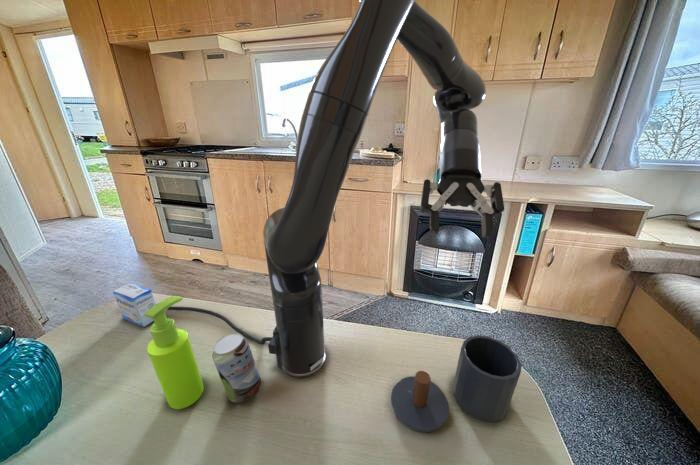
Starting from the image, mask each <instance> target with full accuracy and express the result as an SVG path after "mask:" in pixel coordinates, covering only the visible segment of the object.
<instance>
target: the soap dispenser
mask: <svg viewBox="0 0 700 465" xmlns="http://www.w3.org/2000/svg"><path fill="white" fill-rule="evenodd" d="M182 300H183V297H182V296H178V295H172V296H169V297H167V298H165V299H163V300H161V301H159V302H158V303H156V305H155V306H154V307H152V308H151V309H150V310H148V311H147V312H146V313H144V314H145V316H146V317H149V318H152V319H153V320H154V321H153V324H152V325H151V326H150V327H149V328H150V330H149V331H150V333H151V336H152V339H151V340H150V341H149V343H148V345H147V346H146V351H147V354H148V356H149V359H150V361H151V363H152V366H153V369H154V371H155V373H156V376H157V379H158V381H159V384H160V386H161V389H162V392H163V394H164V396H165V398H166V401H167V404H168V406H169V407H170V408H171V409H174V410H182V409H185V408H188V407H190V406H192V405H193V404H194V403H196V402H197V401H198V400H199V399H200V397H201V396H202V394H203V392H204V389H205V388H204V387H205V386H204V383H203V380H202V377H201V373H200V370H199V367H198V363H197V360H196V357H195V353H194V350H193V347H192V344H191V341H190V338H189V334H188V332H187V330H185V329H182V328H177V325H176V322H175V320H174V319H173V318H169V317H168V318H167V315H166V311H167V309H168V308H169V307H173V306H174V305H176V304H178V303H179V302H182Z"/></svg>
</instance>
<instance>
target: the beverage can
mask: <svg viewBox="0 0 700 465" xmlns="http://www.w3.org/2000/svg"><path fill="white" fill-rule="evenodd" d="M212 350H213V351H212V353H211V354H212V356H211V357H212V361H213V363H214V366H215V368H216V371H217V373H218V376H219V378H220V381H221V383H222V385H223V388H224V391H225V392H226V393H225V394H226V395H227V397H228V399H229V401H231V402H232V403H236V404H237V403H239V404H240V403H243V402H247V401H248V400H250V399H251V398H253V397H254V396H255V395H256V394H257V393H258V391H259V390H260V388H261V387H262V386H261V385H262V379H261V375H260V373H259V370H258V367H257V364H256V361H255V358H254V355H253V352H252V349H251V346H250V344H249V341H248V338H246V337H245V336H243V335H241V334H240V333H238V332H235V333H234V332H233V333H229V334H227V335H224V336H223V337H221V338H220V339H218V340H217V341H216V342H215V344H213V347H212Z"/></svg>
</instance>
